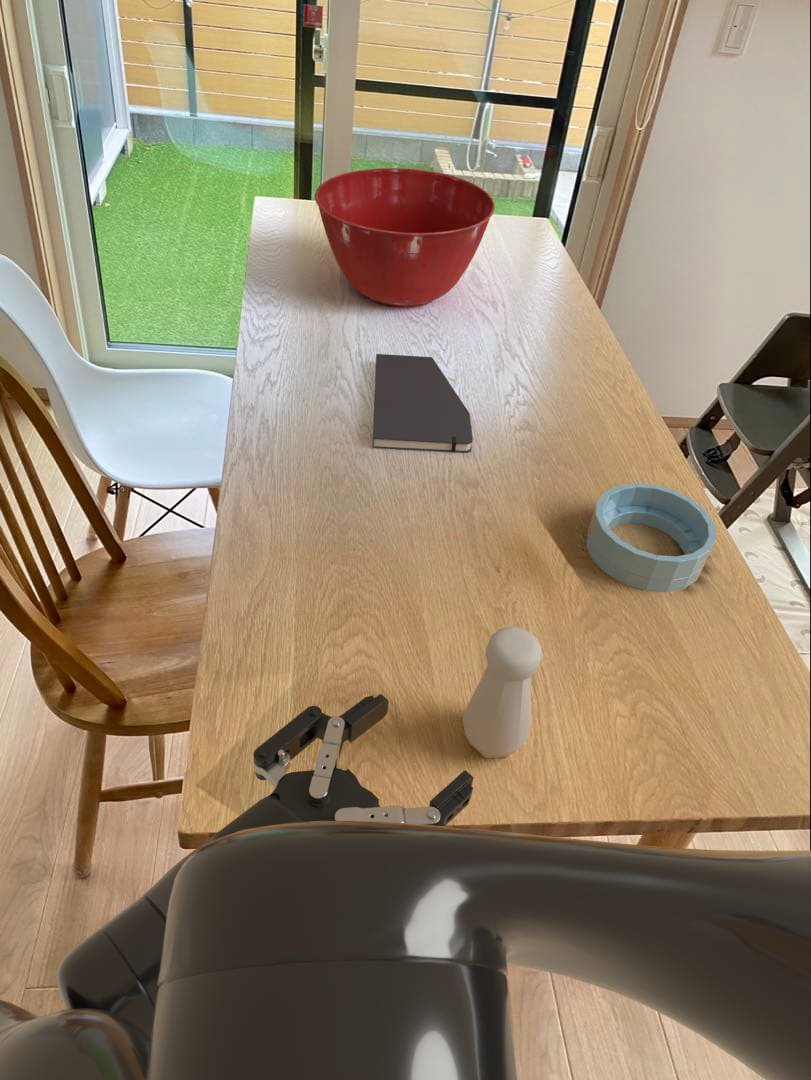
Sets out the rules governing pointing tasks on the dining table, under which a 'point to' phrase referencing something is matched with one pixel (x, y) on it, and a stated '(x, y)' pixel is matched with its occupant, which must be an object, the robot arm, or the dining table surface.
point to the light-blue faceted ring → (659, 512)
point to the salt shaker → (503, 694)
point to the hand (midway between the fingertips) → (425, 739)
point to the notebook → (417, 407)
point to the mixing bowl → (403, 231)
